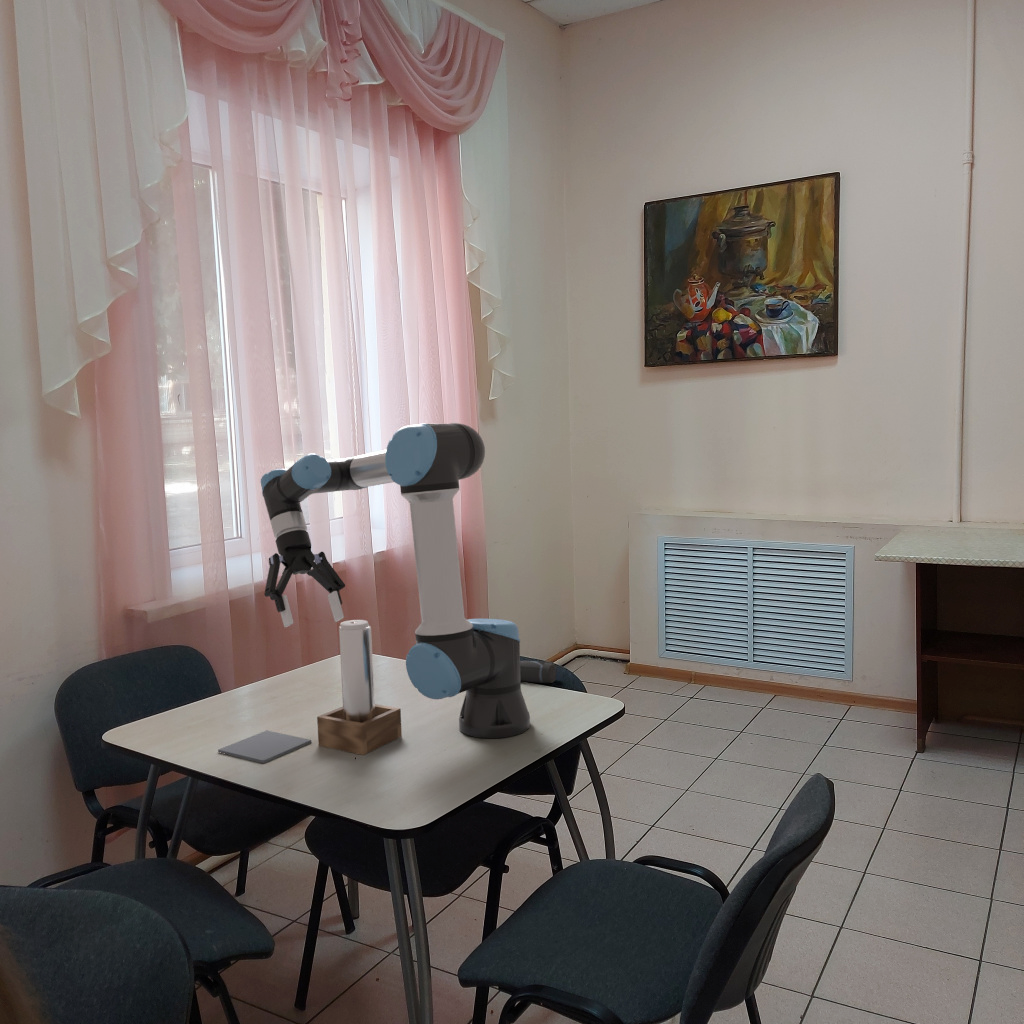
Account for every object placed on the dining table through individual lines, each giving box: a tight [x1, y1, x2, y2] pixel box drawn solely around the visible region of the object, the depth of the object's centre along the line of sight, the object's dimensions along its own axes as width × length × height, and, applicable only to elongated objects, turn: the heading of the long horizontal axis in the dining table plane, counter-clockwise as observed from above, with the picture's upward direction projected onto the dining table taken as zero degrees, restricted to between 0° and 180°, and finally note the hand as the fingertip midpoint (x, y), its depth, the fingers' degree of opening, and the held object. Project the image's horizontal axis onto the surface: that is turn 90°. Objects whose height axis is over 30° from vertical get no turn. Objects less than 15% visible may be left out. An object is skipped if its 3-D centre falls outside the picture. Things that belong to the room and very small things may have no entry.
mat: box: [217, 730, 312, 764], centre depth 187 cm, size 13×13×1 cm
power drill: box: [520, 660, 557, 684], centre depth 228 cm, size 5×19×20 cm
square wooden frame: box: [316, 703, 403, 756], centre depth 189 cm, size 12×12×6 cm
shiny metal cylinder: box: [338, 619, 376, 723], centre depth 188 cm, size 6×6×25 cm
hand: (314, 622), depth 204 cm, fingers open, 13 cm apart
